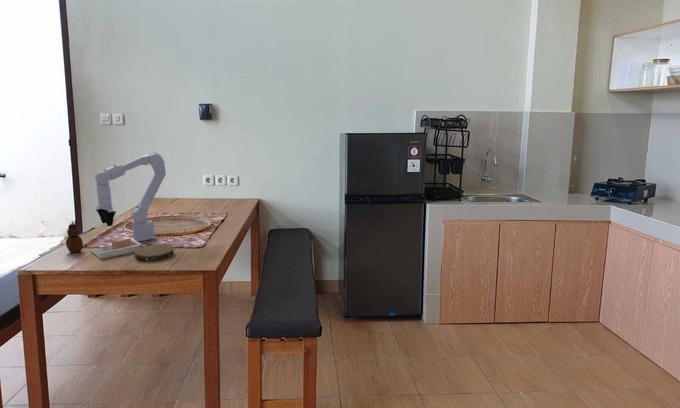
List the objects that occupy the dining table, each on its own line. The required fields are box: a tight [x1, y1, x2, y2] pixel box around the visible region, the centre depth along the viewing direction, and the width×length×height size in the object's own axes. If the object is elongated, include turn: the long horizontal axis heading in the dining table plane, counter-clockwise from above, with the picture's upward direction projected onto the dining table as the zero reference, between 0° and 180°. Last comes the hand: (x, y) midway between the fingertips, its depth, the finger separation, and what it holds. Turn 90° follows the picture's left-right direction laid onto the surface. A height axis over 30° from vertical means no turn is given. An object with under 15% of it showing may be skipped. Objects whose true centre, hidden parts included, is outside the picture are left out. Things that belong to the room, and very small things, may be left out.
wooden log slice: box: [134, 244, 174, 263], centre depth 213 cm, size 16×16×3 cm
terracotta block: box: [111, 236, 131, 250], centre depth 220 cm, size 4×7×5 cm, turn 133°
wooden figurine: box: [65, 219, 84, 254], centre depth 218 cm, size 7×6×15 cm
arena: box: [89, 237, 143, 260], centre depth 220 cm, size 18×16×3 cm
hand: (107, 224), depth 231 cm, fingers open, 7 cm apart
